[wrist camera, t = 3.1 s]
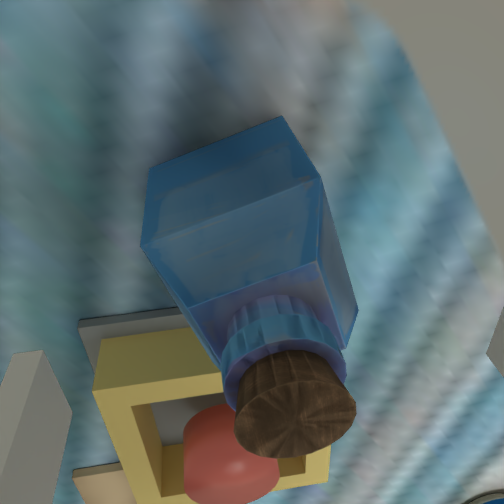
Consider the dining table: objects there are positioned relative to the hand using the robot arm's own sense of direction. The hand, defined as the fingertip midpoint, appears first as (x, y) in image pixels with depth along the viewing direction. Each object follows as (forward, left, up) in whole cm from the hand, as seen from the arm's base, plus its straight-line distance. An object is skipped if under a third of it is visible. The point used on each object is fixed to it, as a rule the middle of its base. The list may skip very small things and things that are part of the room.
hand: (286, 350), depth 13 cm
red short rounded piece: (-2, -13, -7) cm, 15 cm away
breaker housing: (-2, -13, -10) cm, 17 cm away
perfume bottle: (0, 0, -10) cm, 10 cm away
